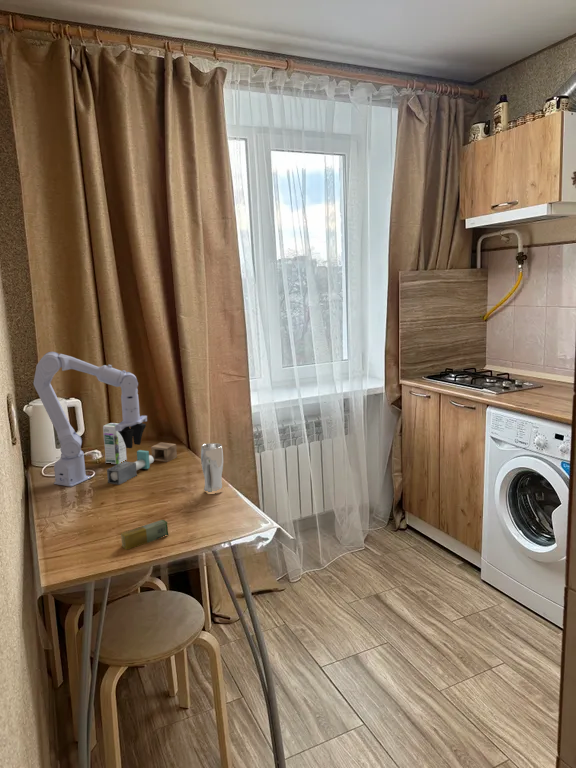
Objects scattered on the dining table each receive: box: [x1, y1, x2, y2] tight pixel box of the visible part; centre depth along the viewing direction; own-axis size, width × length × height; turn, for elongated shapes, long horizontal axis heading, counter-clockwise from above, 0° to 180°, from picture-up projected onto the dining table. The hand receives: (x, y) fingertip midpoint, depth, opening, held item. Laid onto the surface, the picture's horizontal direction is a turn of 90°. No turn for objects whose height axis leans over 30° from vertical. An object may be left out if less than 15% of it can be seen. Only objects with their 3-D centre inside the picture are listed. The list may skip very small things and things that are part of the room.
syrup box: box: [102, 422, 128, 465], centre depth 205 cm, size 6×6×14 cm
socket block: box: [150, 441, 178, 463], centre depth 209 cm, size 6×7×5 cm
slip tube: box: [111, 449, 155, 481], centre depth 192 cm, size 20×4×6 cm, turn 157°
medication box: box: [120, 519, 169, 551], centre depth 142 cm, size 12×3×4 cm, turn 130°
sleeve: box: [106, 460, 138, 486], centre depth 187 cm, size 9×5×5 cm, turn 157°
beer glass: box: [200, 442, 224, 492], centre depth 174 cm, size 7×7×15 cm
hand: (133, 446), depth 192 cm, fingers open, 4 cm apart
